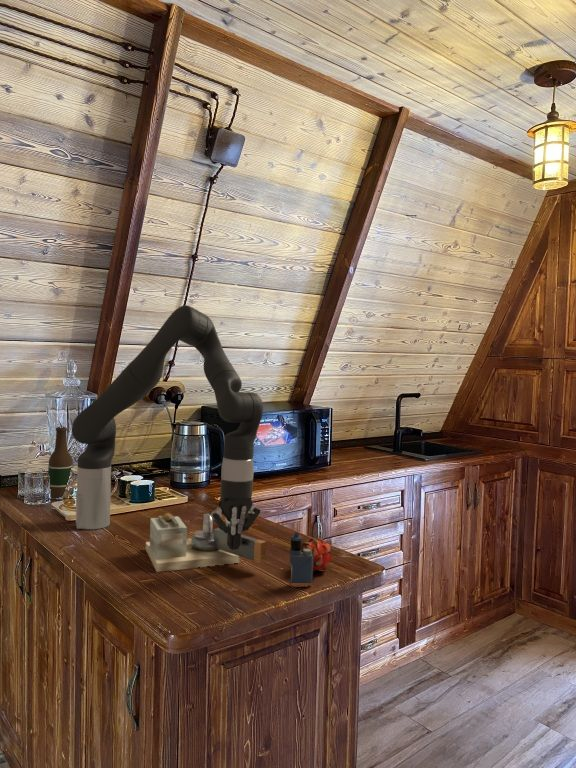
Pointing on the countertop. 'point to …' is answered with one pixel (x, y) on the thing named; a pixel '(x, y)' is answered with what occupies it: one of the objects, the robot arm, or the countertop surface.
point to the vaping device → (300, 561)
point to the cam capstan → (218, 541)
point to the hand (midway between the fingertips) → (233, 548)
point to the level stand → (179, 547)
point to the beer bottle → (59, 464)
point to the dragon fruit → (318, 552)
